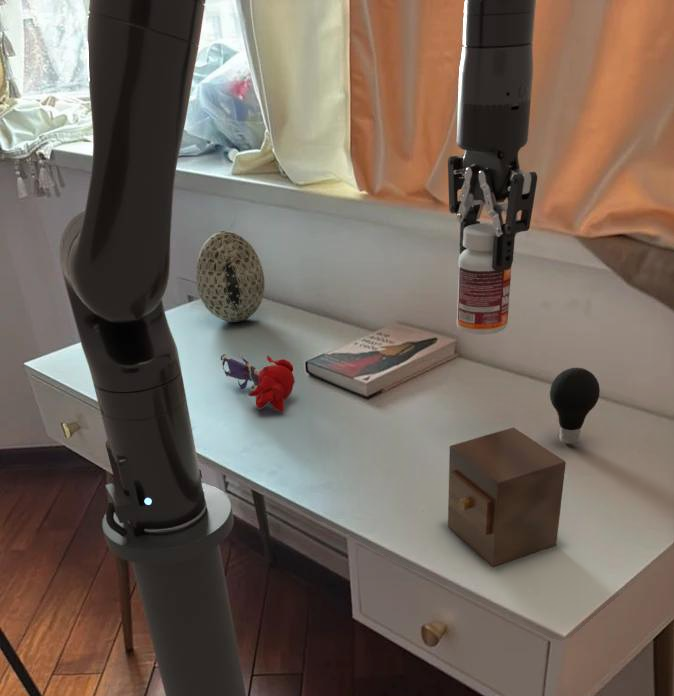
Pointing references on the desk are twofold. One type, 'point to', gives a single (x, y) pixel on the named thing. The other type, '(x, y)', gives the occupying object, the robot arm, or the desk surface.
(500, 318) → the pill bottle
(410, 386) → the desk surface
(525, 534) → the box
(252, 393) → the figurine
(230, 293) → the decorative egg
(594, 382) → the light bulb
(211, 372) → the desk surface
